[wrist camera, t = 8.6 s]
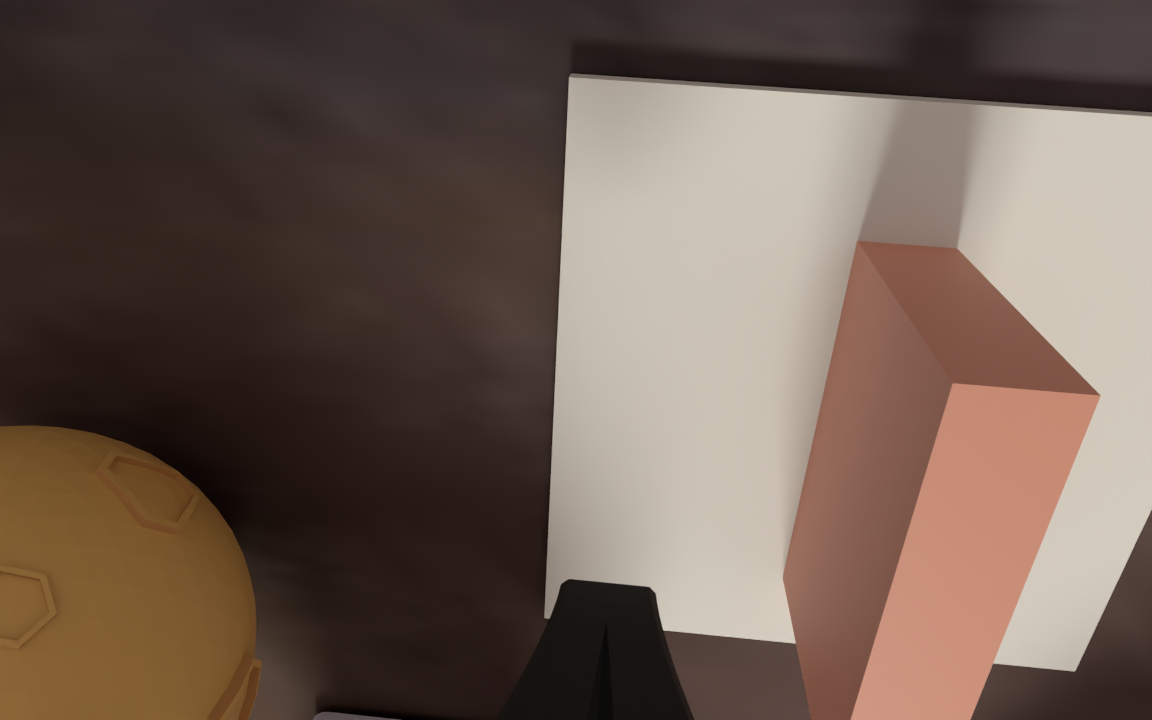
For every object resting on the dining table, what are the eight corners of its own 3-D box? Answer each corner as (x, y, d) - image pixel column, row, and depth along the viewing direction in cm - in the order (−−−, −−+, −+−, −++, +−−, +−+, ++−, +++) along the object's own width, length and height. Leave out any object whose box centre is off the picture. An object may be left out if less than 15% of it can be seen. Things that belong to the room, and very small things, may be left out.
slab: (862, 585, 21) (934, 808, 15) (782, 577, 21) (826, 796, 16) (957, 248, 17) (1100, 395, 11) (857, 241, 17) (953, 383, 11)
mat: (1066, 656, 22) (1075, 671, 21) (546, 604, 23) (544, 618, 22) (1310, 123, 15) (1330, 128, 15) (571, 73, 16) (569, 77, 16)
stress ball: (165, 638, 26) (332, 855, 20) (-281, 801, 19) (-245, 1222, 13) (156, 338, 23) (350, 482, 16) (-382, 400, 16) (-404, 692, 9)
